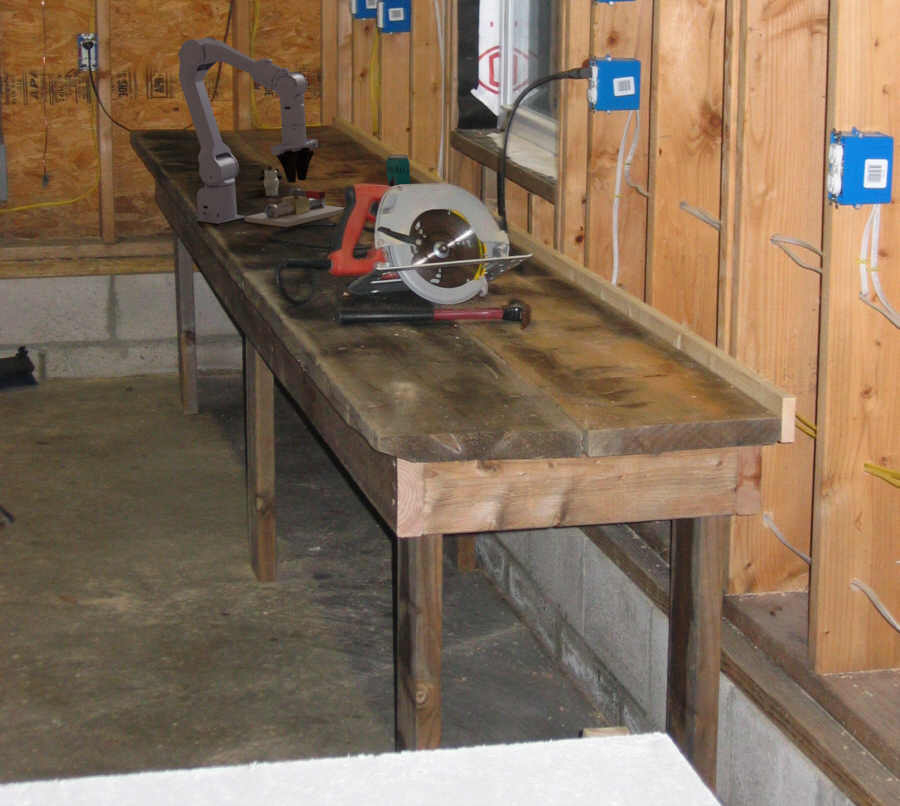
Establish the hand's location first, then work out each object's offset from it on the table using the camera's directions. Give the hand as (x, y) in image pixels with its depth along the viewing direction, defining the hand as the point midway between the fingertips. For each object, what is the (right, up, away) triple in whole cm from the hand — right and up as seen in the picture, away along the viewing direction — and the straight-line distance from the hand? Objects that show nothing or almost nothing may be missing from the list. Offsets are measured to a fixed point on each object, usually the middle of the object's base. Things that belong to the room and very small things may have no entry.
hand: (296, 181), depth 344 cm
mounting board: (-1, -7, +12) cm, 14 cm away
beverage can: (+25, -8, +9) cm, 27 cm away
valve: (-12, +4, +48) cm, 50 cm away
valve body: (-1, -7, +12) cm, 14 cm away
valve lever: (+2, -3, +8) cm, 8 cm away
